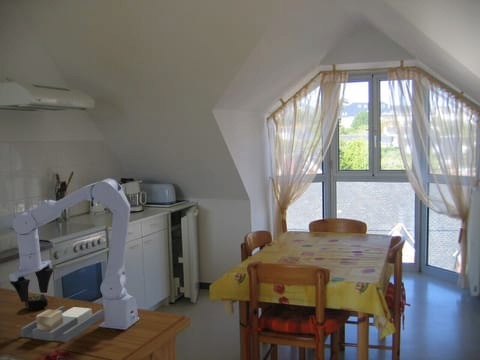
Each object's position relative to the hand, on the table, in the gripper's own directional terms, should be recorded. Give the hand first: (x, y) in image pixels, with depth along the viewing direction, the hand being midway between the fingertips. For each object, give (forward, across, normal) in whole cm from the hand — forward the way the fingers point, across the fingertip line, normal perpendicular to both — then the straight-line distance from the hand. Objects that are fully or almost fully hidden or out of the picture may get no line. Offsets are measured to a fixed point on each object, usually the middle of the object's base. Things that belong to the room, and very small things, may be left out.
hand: (34, 297), depth 142 cm
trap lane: (+10, -4, +7) cm, 13 cm away
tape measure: (+11, -16, -14) cm, 24 cm away
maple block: (+8, +2, +7) cm, 10 cm away
